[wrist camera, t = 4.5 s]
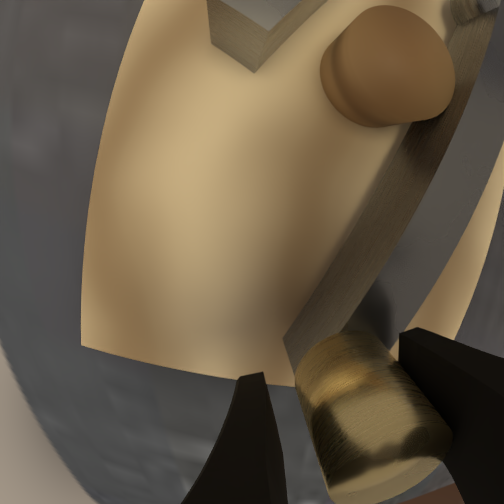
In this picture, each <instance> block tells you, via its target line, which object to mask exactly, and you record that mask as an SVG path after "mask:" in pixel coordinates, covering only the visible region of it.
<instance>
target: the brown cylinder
mask: <svg viewBox="0 0 504 504" xmlns="http://www.w3.org/2000/svg"><path fill="white" fill-rule="evenodd" d="M320 78H321V83H322V86H323V89H324V92H325V94H326V96H327V97H328V99H329V101H330V102H331V104H332V105H333V106H334V107H335V108H336V110H337V111H339V112H340V113H341V114H342V115H343V116H344V117H346V118H347V119H349V120H350V121H352V122H354V123H356V124H359V125H362V126H365V127H371V128H380V127H386V126H392V125H397V124H403V123H409V122H415V121H421V120H427V119H431V118H433V117H436V116H437V115H439V114H440V113H442V112H443V111H444V110H445V109H446V108H447V106H448V105H449V103H450V101H451V99H452V96H453V93H454V88H455V71H454V66H453V62H452V59H451V56H450V54H449V51H448V49H447V47H446V45H445V44H444V42H443V40H442V39H441V37H440V36H439V35H438V34H437V32H436V31H435V30H434V29H433V28H432V27H431V26H430V25H429V24H428V23H427V22H426V21H424V20H423V19H422V18H420V17H419V16H417V15H416V14H414V13H412V12H410V11H408V10H406V9H403V8H400V7H396V6H391V5H379V6H374V7H371V8H368V9H366V10H365V11H363V12H362V13H361V14H359V15H358V16H357V17H356V18H355V19H354V20H353V21H352V22H351V23H350V24H349V25H348V26H347V27H346V28H345V29H344V30H343V31H342V33H341V34H340V35H339V36H338V37H337V38H336V39H335V40H334V41H333V42H332V43H331V44H330V45H329V46H328V47H327V49H326V50H325V52H324V54H323V56H322V59H321V64H320Z"/></svg>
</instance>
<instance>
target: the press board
mask: <svg viewBox="0 0 504 504" xmlns="http://www.w3.org/2000/svg"><path fill="white" fill-rule="evenodd" d="M379 5H391V6H396V7H400V8H403V9H406V10H408V11H410V12H412V13H414V14H416V15H417V16H419V17H420V18H422V19H423V20H424V21H426V22H427V23H428V24H429V25H430V26H431V27H432V28H433V29H434V30H435V31H436V32H437V34H438V35H439V36H440V37H441V39H442V40H443V42H444V44H445V45H446V47H448V45H449V42H450V40H451V38H452V35H453V33H454V30H455V28H456V26H457V25H456V23H455V21H454V19H453V16H452V13H451V9H450V0H328V1H327V2H326V3H324V4H323V5H322V6H321V7H320V8H319V9H318V10H317V11H316V12H315V13H314V14H313V15H312V16H310V17H309V18H308V19H307V20H306V21H305V22H304V23H303V24H302V25H301V26H300V27H299V28H298V29H297V30H296V31H295V32H294V33H293V34H292V35H291V36H290V37H289V38H288V39H287V40H286V41H285V42H284V43H283V44H282V45H281V46H280V47H279V48H278V49H277V50H276V51H275V52H274V53H273V54H272V55H271V56H270V57H269V58H268V59H267V61H266V62H265V63H264V64H263V65H262V66H261V67H260V68H259V69H258V70H257V71H256V72H255V73H253V72H251V71H250V70H249V69H247V68H246V67H244V66H243V65H242V64H240V63H239V62H237V61H236V60H234V59H233V58H232V57H230V56H229V55H227V54H226V53H224V52H223V51H221V50H220V49H218V48H217V47H215V46H214V45H212V44H211V39H210V29H209V20H208V11H207V1H206V0H145V1H144V3H143V5H142V8H141V10H140V13H139V15H138V18H137V20H136V23H135V25H134V28H133V31H132V33H131V36H130V39H129V42H128V45H127V47H126V50H125V53H124V56H123V59H122V62H121V66H120V69H119V72H118V75H117V79H116V82H115V85H114V89H113V93H112V96H111V100H110V104H109V107H108V111H107V115H106V119H105V124H104V128H103V132H102V137H101V141H100V146H99V151H98V156H97V161H96V166H95V172H94V178H93V184H92V190H91V197H90V204H89V211H88V219H87V228H86V237H85V248H84V260H83V275H82V298H81V345H83V346H86V347H89V348H93V349H96V350H100V351H103V352H107V353H111V354H114V355H118V356H122V357H126V358H130V359H134V360H138V361H142V362H146V363H151V364H155V365H160V366H164V367H169V368H174V369H178V370H183V371H189V372H194V373H199V374H205V375H210V376H216V377H222V378H229V379H235V380H238V378H239V377H240V376H244V375H249V374H253V373H258V372H264V376H265V381H266V384H273V385H282V386H292V387H295V376H294V373H293V370H292V367H291V364H290V361H289V358H288V355H287V352H286V349H285V346H284V342H283V339H282V338H283V336H284V335H285V333H286V332H287V331H288V329H289V328H290V326H291V325H292V323H293V322H294V320H295V319H296V317H297V316H298V314H299V313H300V311H301V310H302V308H303V307H304V305H305V304H306V302H307V301H308V299H309V298H310V296H311V295H312V293H313V292H314V290H315V289H316V287H317V286H318V284H319V283H320V281H321V279H322V278H323V276H324V275H325V273H326V272H327V270H328V268H329V267H330V265H331V264H332V262H333V260H334V259H335V257H336V256H337V254H338V252H339V251H340V249H341V248H342V246H343V244H344V243H345V241H346V239H347V238H348V236H349V234H350V233H351V231H352V229H353V228H354V226H355V224H356V223H357V221H358V219H359V218H360V216H361V214H362V213H363V211H364V209H365V207H366V206H367V204H368V202H369V201H370V199H371V197H372V195H373V194H374V192H375V190H376V188H377V186H378V185H379V183H380V181H381V179H382V178H383V176H384V174H385V172H386V170H387V169H388V167H389V165H390V163H391V161H392V159H393V157H394V156H395V154H396V152H397V150H398V148H399V146H400V144H401V142H402V141H403V139H404V137H405V135H406V133H407V131H408V129H409V127H410V125H411V123H412V122H409V123H403V124H397V125H392V126H386V127H380V128H371V127H365V126H362V125H359V124H356V123H354V122H352V121H350V120H349V119H347V118H346V117H344V116H343V115H342V114H341V113H340V112H339V111H337V110H336V108H335V107H334V106H333V105H332V104H331V102H330V101H329V99H328V97H327V96H326V94H325V92H324V89H323V86H322V83H321V78H320V64H321V59H322V56H323V54H324V52H325V50H326V49H327V47H328V46H329V45H330V44H331V43H332V42H333V41H334V40H335V39H336V38H337V37H338V36H339V35H340V34H341V33H342V31H343V30H344V29H345V28H346V27H347V26H348V25H349V24H350V23H351V22H352V21H353V20H354V19H355V18H356V17H357V16H358V15H359V14H361V13H362V12H363V11H365V10H366V9H368V8H371V7H374V6H379ZM503 188H504V142H503V145H502V147H501V150H500V153H499V155H498V158H497V161H496V163H495V166H494V168H493V171H492V173H491V175H490V178H489V180H488V183H487V185H486V187H485V189H484V192H483V194H482V196H481V198H480V201H479V203H478V205H477V207H476V209H475V211H474V213H473V215H472V217H471V219H470V221H469V223H468V225H467V227H466V229H465V231H464V233H463V235H462V237H461V239H460V241H459V243H458V245H457V246H456V248H455V250H454V252H453V254H452V256H451V257H450V259H449V261H448V263H447V264H446V266H445V268H444V270H443V271H442V273H441V275H440V276H439V278H438V280H437V281H436V283H435V285H434V286H433V288H432V290H431V291H430V293H429V294H428V296H427V297H426V299H425V301H424V302H423V304H422V305H421V307H420V308H419V310H418V311H417V313H416V314H415V316H414V317H413V319H412V320H411V322H410V323H409V325H408V326H407V327H406V329H405V330H404V331H407V330H410V329H413V328H416V327H419V328H422V329H425V330H428V331H431V332H434V333H436V334H439V335H441V336H444V337H446V338H449V339H452V340H454V338H455V336H456V334H457V332H458V329H459V327H460V325H461V323H462V320H463V318H464V316H465V313H466V311H467V308H468V306H469V303H470V301H471V298H472V296H473V293H474V290H475V287H476V285H477V282H478V279H479V276H480V273H481V270H482V267H483V264H484V261H485V258H486V255H487V252H488V248H489V245H490V242H491V238H492V235H493V231H494V227H495V223H496V219H497V215H498V211H499V207H500V203H501V198H502V193H503ZM398 351H399V339H398V340H397V342H396V343H395V344H394V346H393V347H392V348H391V350H390V351H389V352H390V353H391V354H392V355H393V356H394V358H395V359H396V360H397V361H398Z"/></svg>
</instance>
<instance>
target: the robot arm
mask: <svg viewBox="0 0 504 504" xmlns="http://www.w3.org/2000/svg"><path fill="white" fill-rule="evenodd" d="M398 363H399V364H400V365H401V366H402V368H403V369H404V370H405V371H406V372H407V374H408V375H409V376H410V377H411V379H412V380H413V381H414V382H415V384H416V385H417V386H418V387H419V389H420V390H421V391H422V393H423V394H424V395H425V396H426V398H427V399H428V400H429V401H430V403H431V404H432V405H433V407H434V408H435V409H436V410H437V412H438V413H439V414H440V416H441V417H442V418H443V419H444V421H445V422H446V423H447V425H448V426H449V427H450V429H451V430H452V433H453V440H452V444H451V447H450V449H449V451H448V453H447V454H446V456H445V458H444V459H443V460H442V461H443V463H444V464H445V466H446V467H447V469H448V470H449V472H450V474H451V475H452V477H453V479H454V481H455V484H456V485H457V488H458V490H459V492H460V494H461V496H462V498H463V501H464V503H465V504H504V358H501V357H498V356H495V355H492V354H489V353H486V352H483V351H480V350H478V349H475V348H472V347H470V346H467V345H464V344H462V343H459V342H457V341H454V340H452V339H449V338H446V337H444V336H441V335H439V334H436V333H434V332H431V331H428V330H425V329H422V328H419V327H416V328H413V329H410V330H407V331H404V332H401V333H399V351H398ZM181 504H288V500H287V490H286V479H285V469H284V459H283V452H282V447H281V443H280V438H279V433H278V429H277V424H276V420H275V416H274V412H273V408H272V404H271V400H270V396H269V392H268V388H267V385H266V381H265V376H264V372H258V373H253V374H249V375H244V376H240V377H239V378H238V380H237V382H236V387H235V391H234V395H233V398H232V402H231V405H230V408H229V411H228V414H227V416H226V419H225V421H224V424H223V427H222V429H221V432H220V434H219V436H218V439H217V441H216V443H215V445H214V447H213V449H212V451H211V453H210V455H209V457H208V459H207V461H206V463H205V465H204V467H203V469H202V471H201V473H200V474H199V476H198V478H197V480H196V481H195V483H194V485H193V486H192V488H191V489H190V491H189V492H188V494H187V495H186V497H185V498H184V500H183V501H182V503H181Z"/></svg>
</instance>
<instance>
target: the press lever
mask: <svg viewBox="0 0 504 504" xmlns="http://www.w3.org/2000/svg"><path fill="white" fill-rule="evenodd" d="M450 9H451V13H452V16H453V19H454V21H455V23H456V25H457V26H456V28H455V30H454V33H453V35H452V38H451V40H450V42H449V45H448V47H447V49H448V51H449V54H450V56H451V59H452V62H453V66H454V71H455V88H454V93H453V96H452V99H451V101H450V103H449V105H448V106H447V108H446V109H445V110H444V111H443V112H442V113H440V114H439V115H437V116H436V117H433V118H431V119H427V120H421V121H415V122H412V123H411V125H410V127H409V129H408V131H407V133H406V135H405V137H404V139H403V141H402V142H401V144H400V146H399V148H398V150H397V152H396V154H395V156H394V157H393V159H392V161H391V163H390V165H389V167H388V169H387V170H386V172H385V174H384V176H383V178H382V179H381V181H380V183H379V185H378V186H377V188H376V190H375V192H374V194H373V195H372V197H371V199H370V201H369V202H368V204H367V206H366V207H365V209H364V211H363V213H362V214H361V216H360V218H359V219H358V221H357V223H356V224H355V226H354V228H353V229H352V231H351V233H350V234H349V236H348V238H347V239H346V241H345V243H344V244H343V246H342V248H341V249H340V251H339V252H338V254H337V256H336V257H335V259H334V260H333V262H332V264H331V265H330V267H329V268H328V270H327V272H326V273H325V275H324V276H323V278H322V279H321V281H320V283H319V284H318V286H317V287H316V289H315V290H314V292H313V293H312V295H311V296H310V298H309V299H308V301H307V302H306V304H305V305H304V307H303V308H302V310H301V311H300V313H299V314H298V316H297V317H296V319H295V320H294V322H293V323H292V325H291V326H290V328H289V329H288V331H287V332H286V333H285V335H284V336H283V338H282V339H283V342H284V346H285V349H286V352H287V355H288V358H289V361H290V364H291V367H292V370H293V373H294V376H295V389H296V392H297V395H298V398H299V401H300V404H301V408H302V411H303V414H304V417H305V420H306V424H307V427H308V430H309V433H310V436H311V440H312V443H313V446H314V449H315V452H316V456H317V459H318V462H319V465H320V468H321V472H322V475H323V478H324V481H325V484H326V487H327V491H328V494H329V497H330V499H331V500H332V501H333V502H335V503H336V504H375V503H378V502H381V501H384V500H387V499H390V498H392V497H394V496H397V495H399V494H401V493H403V492H404V491H406V490H408V489H410V488H411V487H413V486H414V485H416V484H417V483H419V482H420V481H422V480H423V479H424V478H425V477H427V476H428V475H429V474H430V473H431V472H432V471H433V470H434V469H435V468H436V467H437V466H438V465H439V464H440V463H441V461H442V460H443V459H444V458H445V456H446V454H447V453H448V451H449V449H450V447H451V444H452V440H453V433H452V430H451V429H450V427H449V426H448V425H447V423H446V422H445V421H444V419H443V418H442V417H441V416H440V414H439V413H438V412H437V410H436V409H435V408H434V407H433V405H432V404H431V403H430V401H429V400H428V399H427V398H426V396H425V395H424V394H423V393H422V391H421V390H420V389H419V387H418V386H417V385H416V384H415V382H414V381H413V380H412V379H411V377H410V376H409V375H408V374H407V372H406V371H405V370H404V369H403V368H402V366H401V365H400V364H399V363H398V361H397V360H396V359H395V358H394V356H393V355H392V354H391V353H390V352H389V351H390V350H391V348H392V347H393V346H394V344H395V343H396V342H397V340H398V339H399V333H401V332H404V330H405V329H406V327H407V326H408V325H409V323H410V322H411V320H412V319H413V317H414V316H415V314H416V313H417V311H418V310H419V308H420V307H421V305H422V304H423V302H424V301H425V299H426V297H427V296H428V294H429V293H430V291H431V290H432V288H433V286H434V285H435V283H436V281H437V280H438V278H439V276H440V275H441V273H442V271H443V270H444V268H445V266H446V264H447V263H448V261H449V259H450V257H451V256H452V254H453V252H454V250H455V248H456V246H457V245H458V243H459V241H460V239H461V237H462V235H463V233H464V231H465V229H466V227H467V225H468V223H469V221H470V219H471V217H472V215H473V213H474V211H475V209H476V207H477V205H478V203H479V201H480V198H481V196H482V194H483V192H484V189H485V187H486V185H487V183H488V180H489V178H490V175H491V173H492V171H493V168H494V166H495V163H496V161H497V158H498V155H499V153H500V150H501V147H502V145H503V142H504V0H450Z"/></svg>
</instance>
